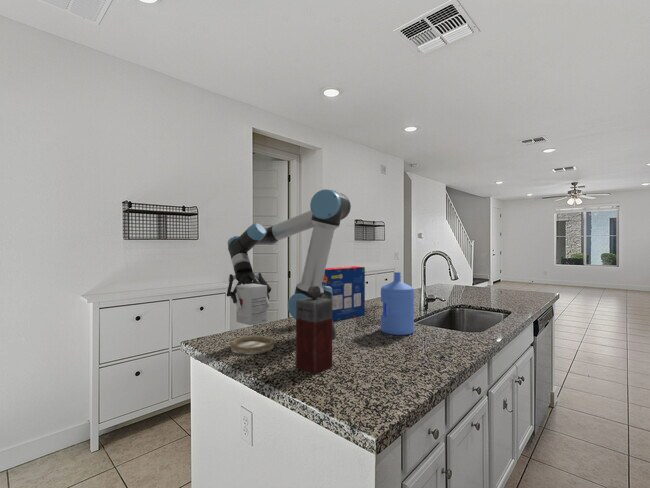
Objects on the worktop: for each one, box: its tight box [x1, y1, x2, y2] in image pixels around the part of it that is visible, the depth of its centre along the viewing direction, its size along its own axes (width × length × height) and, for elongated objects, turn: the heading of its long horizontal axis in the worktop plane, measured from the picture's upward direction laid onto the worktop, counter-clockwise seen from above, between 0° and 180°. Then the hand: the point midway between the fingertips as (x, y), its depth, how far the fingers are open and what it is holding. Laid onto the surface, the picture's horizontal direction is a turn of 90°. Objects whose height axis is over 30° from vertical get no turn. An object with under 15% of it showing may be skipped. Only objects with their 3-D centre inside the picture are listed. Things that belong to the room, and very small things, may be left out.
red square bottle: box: [295, 286, 333, 375], centre depth 119 cm, size 9×11×28 cm
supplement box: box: [235, 283, 268, 326], centre depth 141 cm, size 9×9×15 cm
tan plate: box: [229, 335, 275, 355], centre depth 141 cm, size 17×17×2 cm
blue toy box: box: [321, 265, 366, 323], centre depth 194 cm, size 28×8×28 cm, turn 131°
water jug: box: [380, 271, 415, 336], centre depth 166 cm, size 16×16×28 cm
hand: (254, 307), depth 138 cm, fingers closed on supplement box, 11 cm apart
